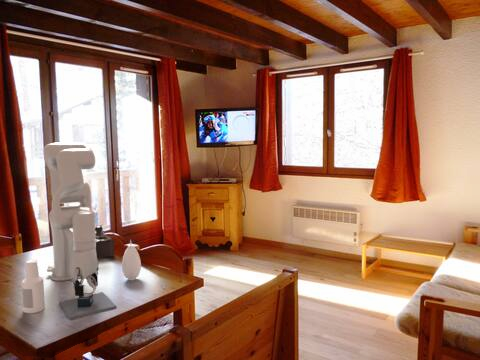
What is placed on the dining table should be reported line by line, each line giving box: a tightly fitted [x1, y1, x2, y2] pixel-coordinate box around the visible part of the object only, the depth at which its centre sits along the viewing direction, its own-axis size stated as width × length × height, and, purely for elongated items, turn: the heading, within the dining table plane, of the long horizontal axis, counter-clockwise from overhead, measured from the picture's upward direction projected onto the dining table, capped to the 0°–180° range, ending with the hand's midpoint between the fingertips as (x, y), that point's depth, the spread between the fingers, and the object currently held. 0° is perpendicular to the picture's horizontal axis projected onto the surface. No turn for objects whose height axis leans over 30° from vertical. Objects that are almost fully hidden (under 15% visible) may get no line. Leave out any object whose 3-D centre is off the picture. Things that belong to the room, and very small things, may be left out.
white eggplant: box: [121, 239, 142, 281], centre depth 170 cm, size 8×8×18 cm
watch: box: [72, 275, 98, 308], centre depth 143 cm, size 6×8×11 cm
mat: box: [58, 291, 117, 320], centre depth 144 cm, size 16×16×1 cm
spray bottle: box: [21, 259, 46, 314], centre depth 140 cm, size 7×7×18 cm
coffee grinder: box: [95, 224, 115, 261], centre depth 203 cm, size 16×11×18 cm
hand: (86, 290), depth 143 cm, fingers open, 9 cm apart
